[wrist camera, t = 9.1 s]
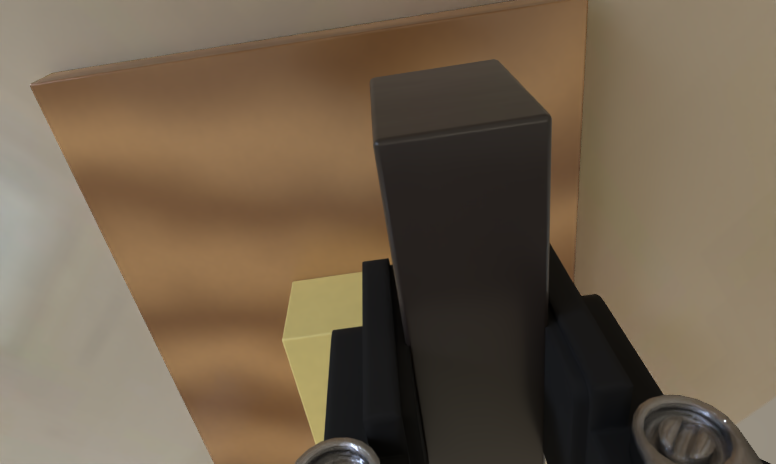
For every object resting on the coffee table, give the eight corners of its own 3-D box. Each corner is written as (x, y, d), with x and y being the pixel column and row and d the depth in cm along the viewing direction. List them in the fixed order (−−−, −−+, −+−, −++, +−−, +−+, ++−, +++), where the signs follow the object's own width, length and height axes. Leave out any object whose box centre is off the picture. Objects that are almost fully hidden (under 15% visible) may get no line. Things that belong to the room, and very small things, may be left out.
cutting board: (51, 72, 18) (27, 84, 17) (572, -10, 18) (589, -4, 16) (233, 468, 30) (228, 493, 28) (556, 425, 29) (565, 449, 28)
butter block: (291, 281, 21) (281, 340, 18) (414, 263, 21) (424, 320, 18) (330, 414, 25) (326, 480, 22) (433, 400, 25) (443, 465, 22)
